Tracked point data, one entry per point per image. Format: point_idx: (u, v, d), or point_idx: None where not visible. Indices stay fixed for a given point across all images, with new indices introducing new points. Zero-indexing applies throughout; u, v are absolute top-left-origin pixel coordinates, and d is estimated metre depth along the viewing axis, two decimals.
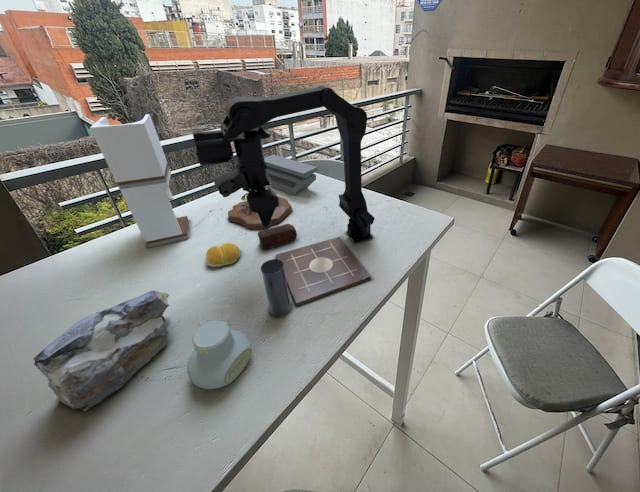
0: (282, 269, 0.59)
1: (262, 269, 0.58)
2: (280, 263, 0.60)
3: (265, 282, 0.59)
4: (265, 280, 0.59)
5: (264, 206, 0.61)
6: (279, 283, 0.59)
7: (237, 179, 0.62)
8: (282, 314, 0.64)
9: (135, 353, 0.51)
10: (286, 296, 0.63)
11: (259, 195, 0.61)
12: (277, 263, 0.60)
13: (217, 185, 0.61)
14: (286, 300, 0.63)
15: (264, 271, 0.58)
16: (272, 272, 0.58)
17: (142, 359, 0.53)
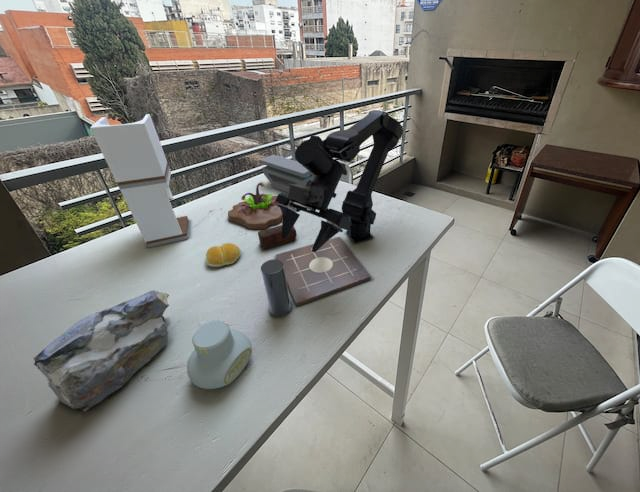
0: (282, 269, 0.59)
1: (262, 269, 0.58)
2: (280, 263, 0.60)
3: (265, 282, 0.59)
4: (265, 280, 0.59)
5: (344, 224, 0.61)
6: (279, 283, 0.59)
7: None
8: (282, 314, 0.64)
9: (135, 353, 0.51)
10: (286, 296, 0.63)
11: None
12: (277, 263, 0.60)
13: (305, 188, 0.58)
14: (286, 300, 0.63)
15: (264, 271, 0.58)
16: (272, 272, 0.58)
17: (142, 359, 0.53)
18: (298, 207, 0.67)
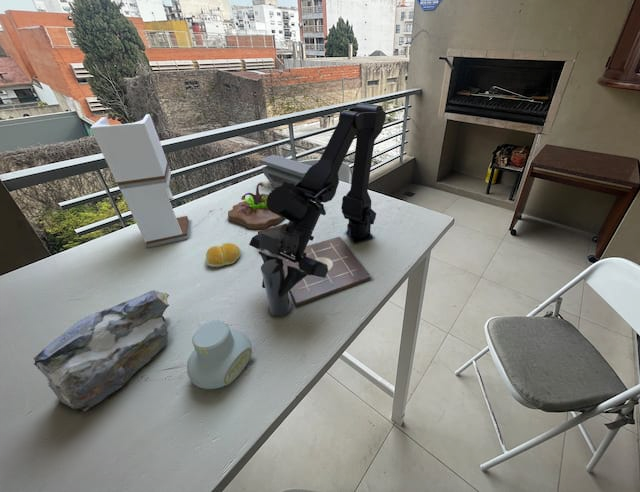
0: (282, 269, 0.59)
1: (262, 269, 0.58)
2: (280, 263, 0.60)
3: (265, 282, 0.59)
4: (265, 280, 0.59)
5: (320, 273, 0.58)
6: (279, 283, 0.59)
7: None
8: (282, 314, 0.64)
9: (135, 353, 0.51)
10: (286, 296, 0.63)
11: (317, 261, 0.59)
12: (277, 263, 0.60)
13: (277, 238, 0.55)
14: (286, 300, 0.63)
15: (264, 271, 0.58)
16: (272, 272, 0.58)
17: (142, 359, 0.53)
18: None
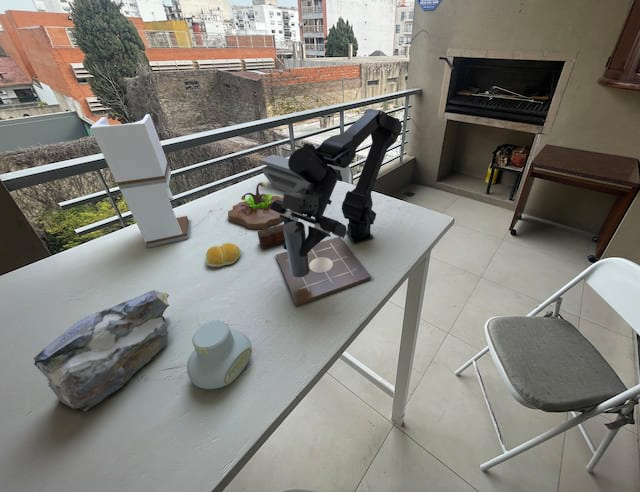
0: (303, 229, 0.62)
1: (284, 229, 0.61)
2: (301, 224, 0.63)
3: (287, 242, 0.62)
4: (287, 240, 0.61)
5: (339, 232, 0.61)
6: (301, 243, 0.62)
7: None
8: (302, 275, 0.67)
9: (135, 353, 0.51)
10: (306, 257, 0.66)
11: None
12: (298, 224, 0.62)
13: (299, 197, 0.58)
14: (306, 261, 0.66)
15: (287, 230, 0.60)
16: (294, 231, 0.60)
17: (142, 359, 0.53)
18: None
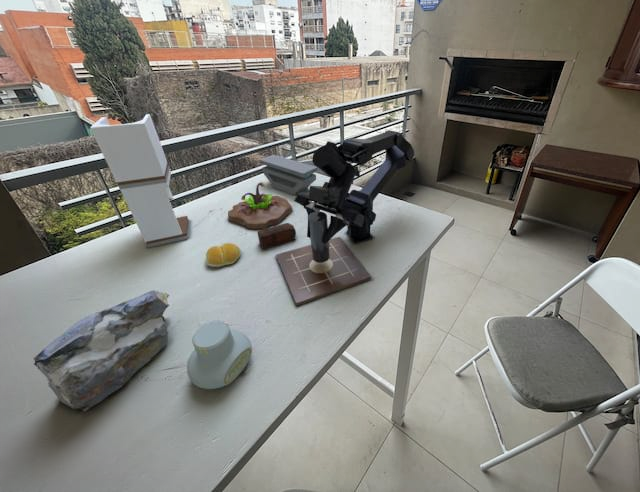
0: (326, 218, 0.69)
1: (309, 218, 0.68)
2: (324, 214, 0.70)
3: (311, 230, 0.69)
4: (312, 228, 0.69)
5: (358, 221, 0.68)
6: (323, 230, 0.69)
7: None
8: (323, 260, 0.74)
9: (135, 353, 0.51)
10: (327, 244, 0.73)
11: None
12: (321, 214, 0.70)
13: (324, 189, 0.65)
14: (327, 248, 0.73)
15: (312, 219, 0.68)
16: (318, 220, 0.68)
17: (142, 359, 0.53)
18: None
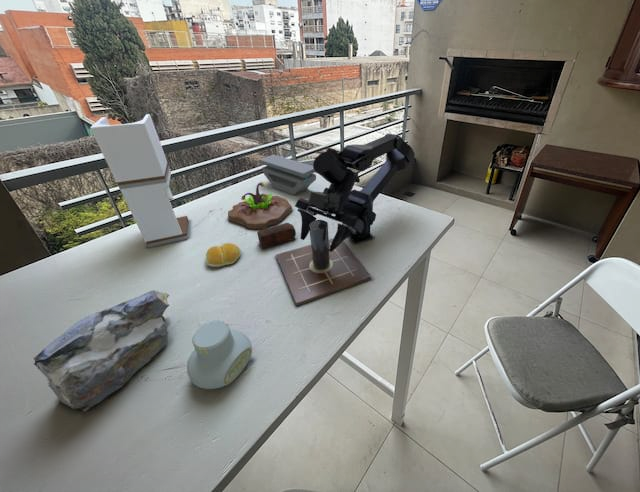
0: (327, 227, 0.70)
1: (310, 226, 0.70)
2: (324, 222, 0.71)
3: (312, 238, 0.71)
4: (313, 236, 0.70)
5: (358, 227, 0.69)
6: (324, 239, 0.71)
7: None
8: (324, 268, 0.76)
9: (135, 353, 0.51)
10: (328, 252, 0.74)
11: None
12: (322, 222, 0.71)
13: (324, 195, 0.66)
14: (327, 255, 0.74)
15: (313, 228, 0.69)
16: (319, 228, 0.69)
17: (142, 359, 0.53)
18: (316, 211, 0.75)
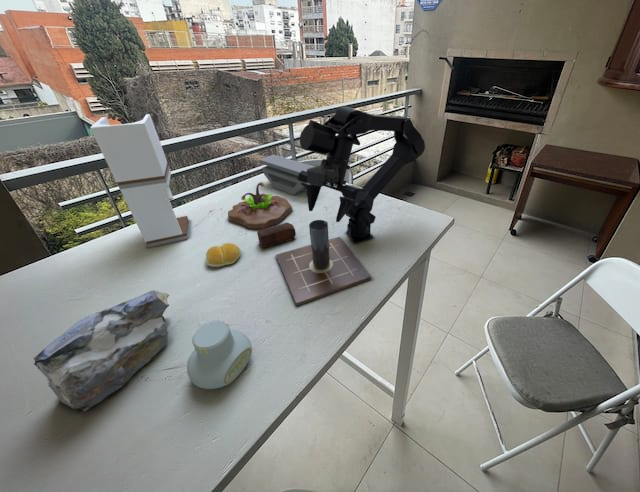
0: (327, 227, 0.70)
1: (310, 226, 0.70)
2: (324, 222, 0.71)
3: (312, 238, 0.71)
4: (313, 236, 0.70)
5: (360, 197, 0.70)
6: (324, 239, 0.71)
7: None
8: (324, 268, 0.76)
9: (135, 353, 0.51)
10: (328, 252, 0.74)
11: (356, 187, 0.69)
12: (322, 222, 0.71)
13: (320, 173, 0.65)
14: (327, 255, 0.74)
15: (313, 228, 0.69)
16: (319, 228, 0.69)
17: (142, 359, 0.53)
18: None
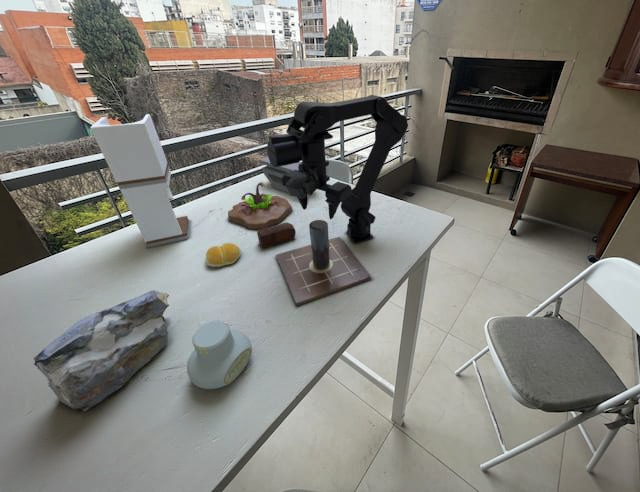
0: (327, 227, 0.70)
1: (310, 226, 0.70)
2: (324, 222, 0.71)
3: (312, 238, 0.71)
4: (313, 236, 0.70)
5: (345, 196, 0.69)
6: (324, 239, 0.71)
7: (312, 179, 0.67)
8: (324, 268, 0.76)
9: (135, 353, 0.51)
10: (328, 252, 0.74)
11: (339, 187, 0.68)
12: (322, 222, 0.71)
13: (298, 188, 0.64)
14: (327, 255, 0.74)
15: (313, 228, 0.69)
16: (319, 228, 0.69)
17: (142, 359, 0.53)
18: None
